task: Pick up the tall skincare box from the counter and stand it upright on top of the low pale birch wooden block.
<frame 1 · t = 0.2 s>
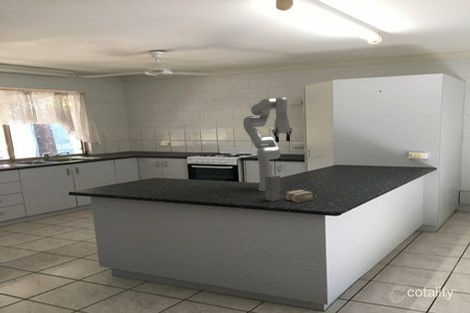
hand: (282, 141, 252), 36 cm above the worktop, tool pointing down, fingers open, 9 cm apart
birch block: (299, 199, 239), on the worktop
skincare box: (273, 200, 242), on the worktop
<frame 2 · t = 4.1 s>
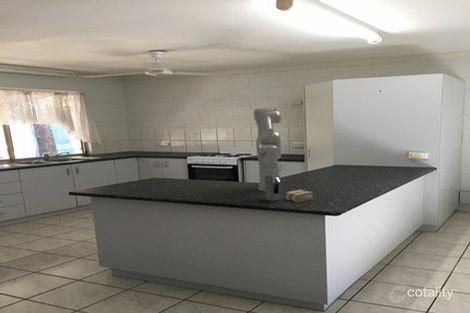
hand: (273, 192, 242), 5 cm above the worktop, tool pointing down, fingers closed on skincare box, 7 cm apart
skincare box: (273, 199, 242), on the worktop, touching gripper
everything else where it was.
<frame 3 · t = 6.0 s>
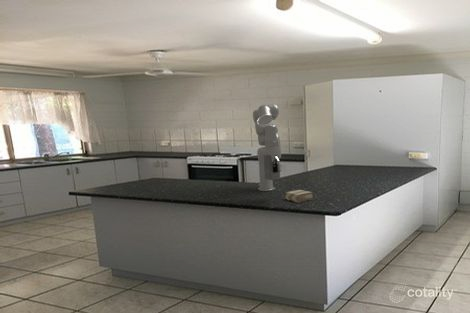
hand: (272, 171, 241), 18 cm above the worktop, tool pointing down, fingers closed on skincare box, 7 cm apart
skincare box: (272, 179, 242), point 13 cm above the worktop, touching gripper
everything else where it was.
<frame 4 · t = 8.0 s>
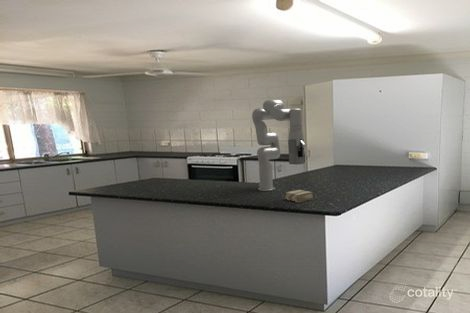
hand: (296, 156, 237), 28 cm above the worktop, tool pointing down, fingers closed on skincare box, 7 cm apart
skincare box: (296, 164, 237), point 23 cm above the worktop, touching gripper
everything else where it was.
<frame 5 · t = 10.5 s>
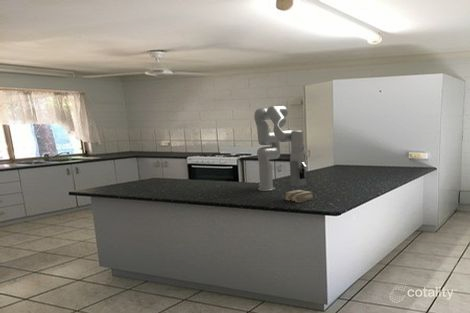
hand: (298, 177, 238), 14 cm above the worktop, tool pointing down, fingers closed on skincare box, 7 cm apart
skincare box: (298, 185, 238), point 9 cm above the worktop, touching gripper
everything else where it was.
when the fingers open (11 cm above the worktop, at t = 12.2 s): skincare box drops 2 cm, resting on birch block.
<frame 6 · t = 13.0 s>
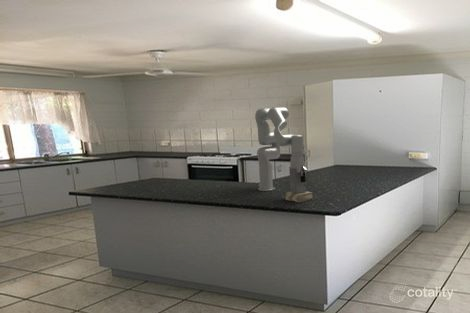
hand: (298, 181, 238), 12 cm above the worktop, tool pointing down, fingers open, 9 cm apart
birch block: (299, 200, 239), on the worktop, touching skincare box
skincare box: (298, 192, 240), point 4 cm above the worktop, touching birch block
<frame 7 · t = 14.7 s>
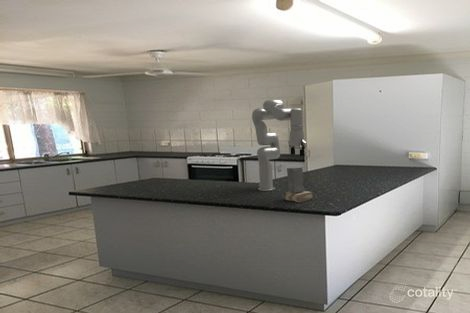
hand: (297, 155, 237), 28 cm above the worktop, tool pointing down, fingers open, 9 cm apart
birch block: (299, 200, 239), on the worktop
skincare box: (296, 192, 240), point 5 cm above the worktop
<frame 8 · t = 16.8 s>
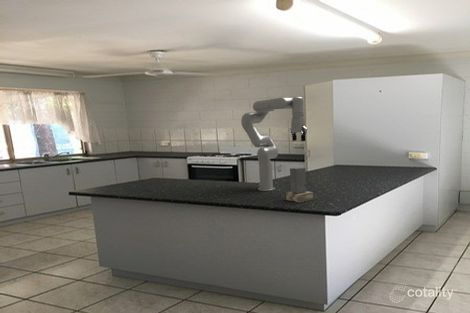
hand: (298, 140, 254), 36 cm above the worktop, tool pointing down, fingers open, 9 cm apart
skincare box: (298, 192, 239), point 4 cm above the worktop
everything else where it was.
at the end: skincare box inside the target area on the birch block (0.8 cm from its centre), point 5.0 cm above the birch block's base; skincare box tilted 3°; the gripper is holding nothing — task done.
